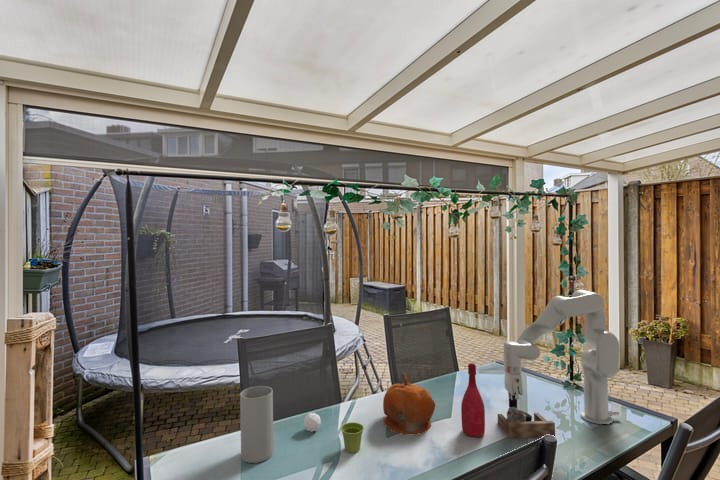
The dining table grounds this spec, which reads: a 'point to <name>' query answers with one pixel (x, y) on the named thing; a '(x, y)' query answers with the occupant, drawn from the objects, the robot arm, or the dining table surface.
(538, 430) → the brown wooden frame
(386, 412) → the pumpkin
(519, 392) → the robot arm
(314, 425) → the geometric ball
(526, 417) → the caster wheel
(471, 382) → the wine bottle
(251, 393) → the cylinder vase
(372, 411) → the dining table surface
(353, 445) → the plant pot
